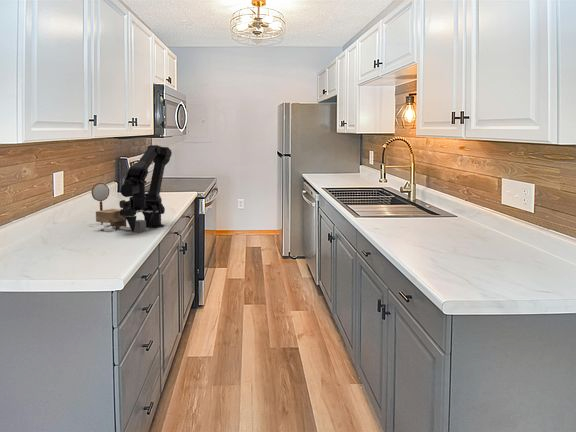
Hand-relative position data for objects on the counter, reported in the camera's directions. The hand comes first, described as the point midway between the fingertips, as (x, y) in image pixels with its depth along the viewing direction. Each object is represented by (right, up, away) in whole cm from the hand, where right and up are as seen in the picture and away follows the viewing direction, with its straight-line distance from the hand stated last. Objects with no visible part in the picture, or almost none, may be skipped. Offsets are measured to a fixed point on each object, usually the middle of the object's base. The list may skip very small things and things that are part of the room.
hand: (139, 229), depth 242 cm
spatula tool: (-4, -1, +2) cm, 5 cm away
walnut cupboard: (-14, 0, +5) cm, 15 cm away
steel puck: (-14, -1, +1) cm, 14 cm away
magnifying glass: (-23, +2, +17) cm, 29 cm away
